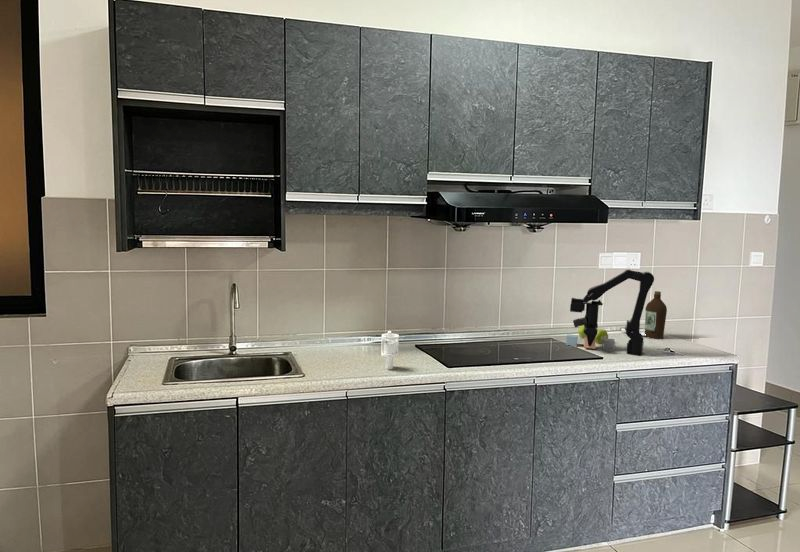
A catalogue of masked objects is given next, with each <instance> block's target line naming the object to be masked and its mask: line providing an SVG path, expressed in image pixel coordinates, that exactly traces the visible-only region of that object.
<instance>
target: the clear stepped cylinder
mask: <svg viewBox="0 0 800 552" xmlns="http://www.w3.org/2000/svg"><path fill="white" fill-rule="evenodd" d="M399 338H400V335H399V334H398V333H392V331H391V330H388V331H387V333H382V334H381V341H380V343H381V344H380V347H381V348H380V351H381V352H380V355H381V357H385V369H387V370H392V369H394V358H396V357H398V356H399V343H400V341H399V340H400V339H399Z"/></svg>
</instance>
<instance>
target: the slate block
mask: <svg viewBox="0 0 800 552" xmlns="http://www.w3.org/2000/svg"><path fill="white" fill-rule="evenodd" d="M578 336H579V334H570V333H569V334H568V333H567V334H566V341H565V346H566V345H572V346H571V347H573V346H576V347H575V348H577V346H578Z"/></svg>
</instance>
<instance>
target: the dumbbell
mask: <svg viewBox="0 0 800 552" xmlns="http://www.w3.org/2000/svg"><path fill="white" fill-rule="evenodd" d="M584 328H585V326H584V325H582V326H579V327H578V330H577V333H578V336H579V337H580V339H585V336H587V335H586V334H584ZM604 338H608V339H609V334H608V332H607V330H606V329H602V328H601V329H598V330H597V335H596V339H595V344H598V345H601V344H602V345H603V341H604Z"/></svg>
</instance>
